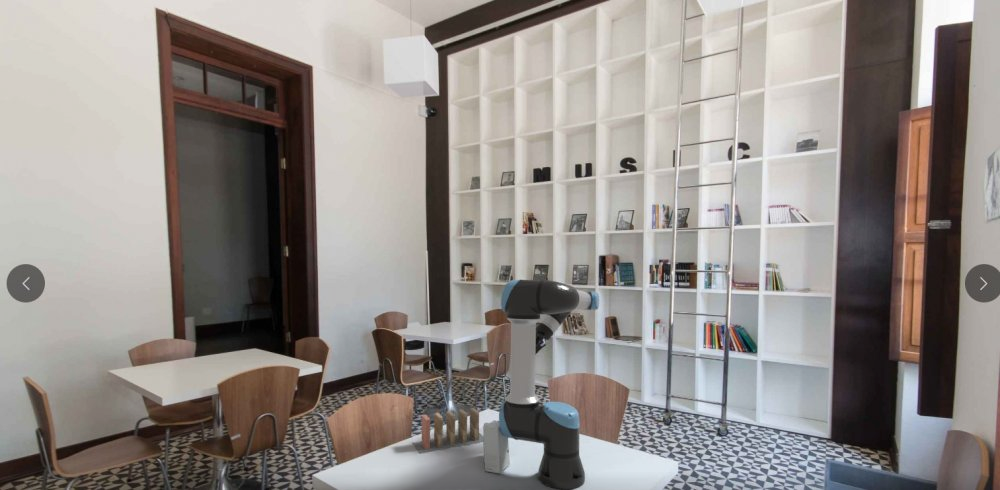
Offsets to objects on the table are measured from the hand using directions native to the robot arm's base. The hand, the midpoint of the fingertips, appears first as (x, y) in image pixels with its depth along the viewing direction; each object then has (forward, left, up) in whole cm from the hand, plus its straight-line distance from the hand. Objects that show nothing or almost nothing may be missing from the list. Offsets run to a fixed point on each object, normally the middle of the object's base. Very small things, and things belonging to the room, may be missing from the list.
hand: (513, 370), depth 186 cm
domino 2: (-18, +27, -25) cm, 41 cm away
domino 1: (-21, +31, -25) cm, 45 cm away
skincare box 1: (-27, +4, -26) cm, 37 cm away
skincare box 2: (-34, +1, -26) cm, 42 cm away
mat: (-16, +23, -26) cm, 38 cm away
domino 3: (-16, +23, -25) cm, 37 cm away
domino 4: (-13, +18, -25) cm, 34 cm away
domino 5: (-10, +14, -25) cm, 31 cm away
